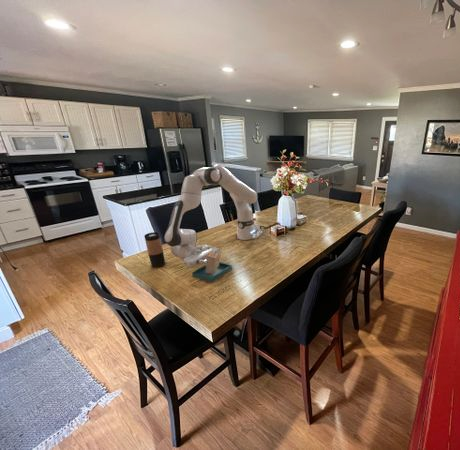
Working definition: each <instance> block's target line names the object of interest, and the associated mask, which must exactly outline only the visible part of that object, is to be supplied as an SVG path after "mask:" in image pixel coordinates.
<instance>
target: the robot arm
mask: <svg viewBox="0 0 460 450" xmlns="http://www.w3.org/2000/svg"><path fill="white" fill-rule="evenodd" d="M217 184H218V185H220V187H222V188H223V189H224V190H225V191H226V192H228V193H229V197H231V199H232V201H233V203H234V206H235V209H236V215H237V221H236V223H237V226H236V227H237V228H236V230H237V231H236V238H237V239H238V240H241V241H243V240H244V241H247V240H256V239H258V238H259V237H260V236H261V235H262V234H263V233H264V230H263V229H269V228H272V227H273V226H275V225H277V224H278V223H277V222H278V221H276V222H274V223H273V224H271V225H269V226H264V225H261V224H258V223H256V221H257V218H256V217H253V209H252V207H251V206H250V204H255V203H256V202H257V201H258V193H257V191H255V190H254V189H252V188H251V187H250V186H248V185H246V184H245V183H244V182H243V181H241V180H239V179H238V177H236V176H235V175H234V174H233V173H232V172H231V171H229V170H228V169H227V168H225V167H224V166H223V165H221V164H215V165H213V166H210V167H200V168H196V169H193V170H192V171H191V172H190V175H187V176H185V177H184V180H183V182H182V185H181V192H180V196H179V199H178V200H177V201H175V203H174V205H173V208H172V210H171V215H170V219H169V223H168V225H167V228H166V230H165V233H164V237H163V239H164V242H165V243H166V244H167V246H169V247H170V252H171V253H172V255H173V256H175V257H176V258H179V259H180V260H181V259H182V260H181V261H180V263H181V264H183V265H184V266H186V267H188V268H192V269H193V268H195V267H196V266H198V265H206V263H207V256H208V254H209V253H210V252H211V250H212V249H213V247H215V248H217V247H216V246H212V245H207V244H200V245H197V242H198V234H197V232H196V231H195V230H194V229H193V228H192V229H190V228H180V227H181V224H182V223H181V222H182V219H183V216H184V214H185V213H186V212H188V211H191V210H193V209H196V208H198V207H199V205H201V201H202V194H203V193H202V190H203V187H204V186H205V187H207V186H215V185H217ZM301 214H302V212H299V213H298V215H301ZM262 228H263V229H262Z"/></svg>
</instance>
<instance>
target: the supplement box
mask: <svg viewBox="0 0 460 450" xmlns="http://www.w3.org/2000/svg"><path fill="white" fill-rule="evenodd" d="M215 247H216V246H213V249H212V250H211V252H210V253H209V254H208V256H207V263H206V264H205V265H206V272H205V273H208V274H211V275H213V274H214V273H215V271H216V269H217V268H218V266H219V262H221V255H222V249H221V248H218V247H216V248H215Z"/></svg>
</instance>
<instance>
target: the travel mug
mask: <svg viewBox="0 0 460 450" xmlns="http://www.w3.org/2000/svg"><path fill="white" fill-rule="evenodd" d="M160 235H161V234H160V232H157V231H152V232H148V233H146V234H144V240H145V245H146V250H147V253H148V258H149V262H150V265H151V267H152V268H153V269H156V268H157V269H158V268H162V267H164V266H165V265H166V260H165V254H164V248H163V244H162V239H161V236H160Z"/></svg>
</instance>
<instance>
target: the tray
mask: <svg viewBox="0 0 460 450" xmlns="http://www.w3.org/2000/svg"><path fill="white" fill-rule="evenodd" d="M232 269H233V265H232V264H228V263H226V262H222V261H220V262H219V266H218V268H217V269H216V271H215V273H214V274H213V275H211V274H208V273H205V272H206V264H203V266H200V267H199V268H197V269H196V270H194V271H192V272H191V275H192V277H193V278H196V279H199V280H202V281H205V282H208V283H213V282H215V281H217V280H218V279H219V278H221V277H223V276H224V275H225V274H227V273H229V272H230V271H231V270H232Z"/></svg>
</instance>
